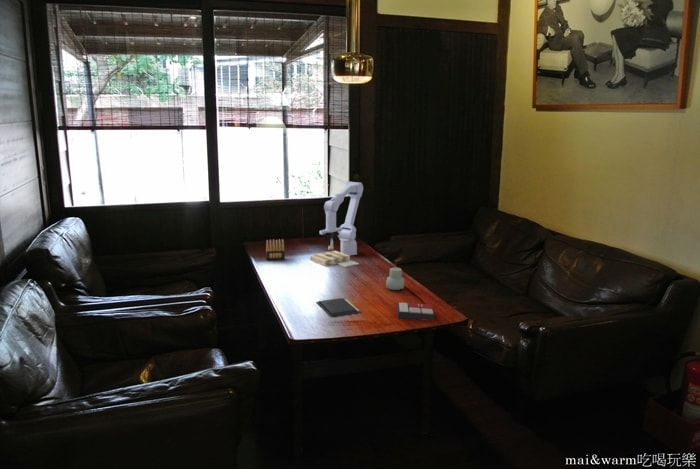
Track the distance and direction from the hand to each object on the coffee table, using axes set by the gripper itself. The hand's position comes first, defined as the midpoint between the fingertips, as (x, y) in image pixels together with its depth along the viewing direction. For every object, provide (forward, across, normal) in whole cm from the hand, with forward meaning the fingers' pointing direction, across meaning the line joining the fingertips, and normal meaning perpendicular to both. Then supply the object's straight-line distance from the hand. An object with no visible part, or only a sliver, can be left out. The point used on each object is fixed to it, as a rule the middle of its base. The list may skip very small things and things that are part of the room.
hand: (330, 245), depth 307 cm
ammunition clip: (+10, +24, -21) cm, 34 cm away
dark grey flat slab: (+10, +41, +62) cm, 75 cm away
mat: (+9, -4, +12) cm, 15 cm away
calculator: (+10, +20, +88) cm, 91 cm away
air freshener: (+10, +3, +58) cm, 58 cm away
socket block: (+9, 0, 0) cm, 9 cm away
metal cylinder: (+2, 0, 0) cm, 3 cm away
